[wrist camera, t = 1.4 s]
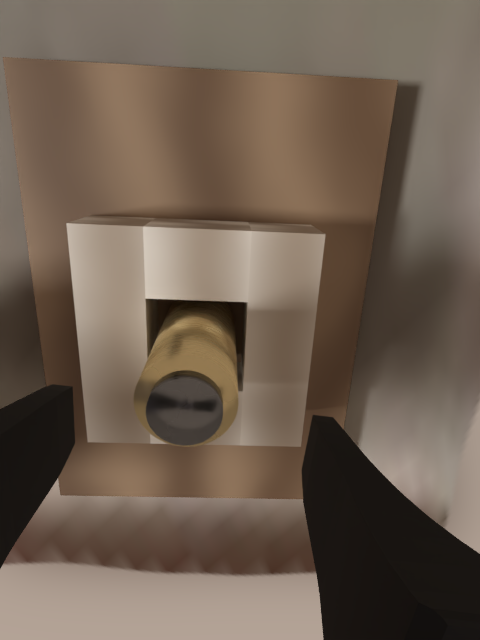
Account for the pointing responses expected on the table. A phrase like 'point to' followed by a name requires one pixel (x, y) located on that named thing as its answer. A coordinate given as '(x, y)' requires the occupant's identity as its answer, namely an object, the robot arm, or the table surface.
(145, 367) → the plug
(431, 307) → the table surface
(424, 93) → the table surface
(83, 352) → the wall socket panel
